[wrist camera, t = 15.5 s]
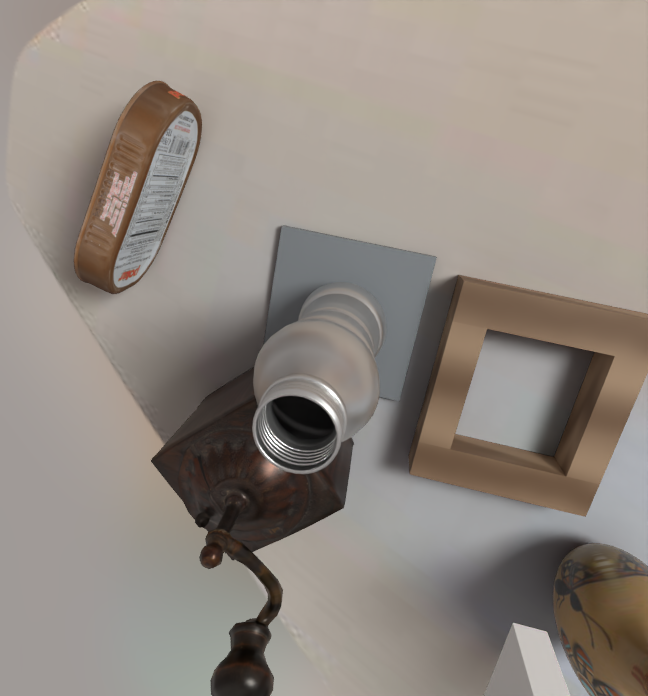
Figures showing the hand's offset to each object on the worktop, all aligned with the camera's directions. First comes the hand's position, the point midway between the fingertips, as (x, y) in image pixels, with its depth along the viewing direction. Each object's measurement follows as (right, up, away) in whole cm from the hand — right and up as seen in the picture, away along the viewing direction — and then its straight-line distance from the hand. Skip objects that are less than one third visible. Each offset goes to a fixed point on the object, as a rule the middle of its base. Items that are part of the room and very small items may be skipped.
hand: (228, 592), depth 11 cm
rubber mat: (+4, +9, +27) cm, 29 cm away
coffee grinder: (-1, -3, +31) cm, 31 cm away
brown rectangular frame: (+18, +2, +27) cm, 32 cm away
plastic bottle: (+4, +8, +26) cm, 28 cm away
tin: (-10, +18, +26) cm, 33 cm away
